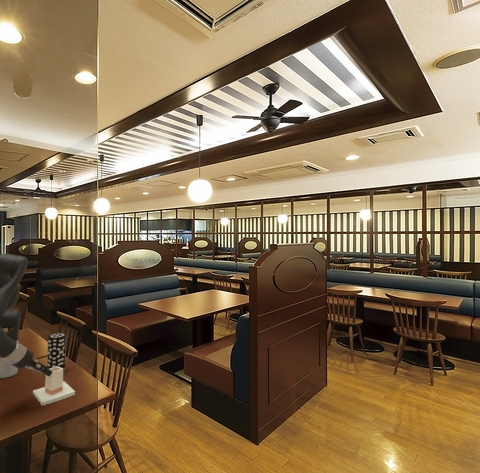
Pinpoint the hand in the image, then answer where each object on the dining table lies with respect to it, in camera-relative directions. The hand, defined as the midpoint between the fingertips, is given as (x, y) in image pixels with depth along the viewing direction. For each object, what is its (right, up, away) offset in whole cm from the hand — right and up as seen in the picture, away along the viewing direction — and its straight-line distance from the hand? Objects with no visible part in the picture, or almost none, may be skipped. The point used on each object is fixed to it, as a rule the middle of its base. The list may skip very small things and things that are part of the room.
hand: (44, 371), depth 133 cm
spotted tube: (-10, -12, +24) cm, 29 cm away
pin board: (+2, -12, +4) cm, 13 cm away
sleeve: (+2, -11, +4) cm, 11 cm away
